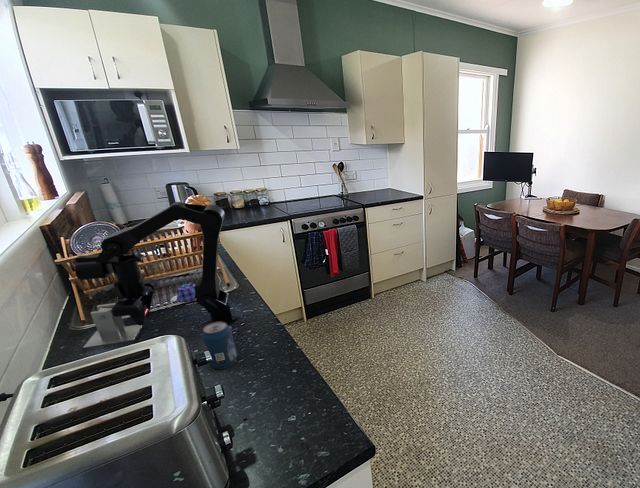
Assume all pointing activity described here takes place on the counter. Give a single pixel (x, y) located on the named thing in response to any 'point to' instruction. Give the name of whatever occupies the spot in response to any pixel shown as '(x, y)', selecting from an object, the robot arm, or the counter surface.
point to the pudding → (185, 293)
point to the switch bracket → (110, 328)
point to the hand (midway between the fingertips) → (143, 320)
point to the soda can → (219, 344)
